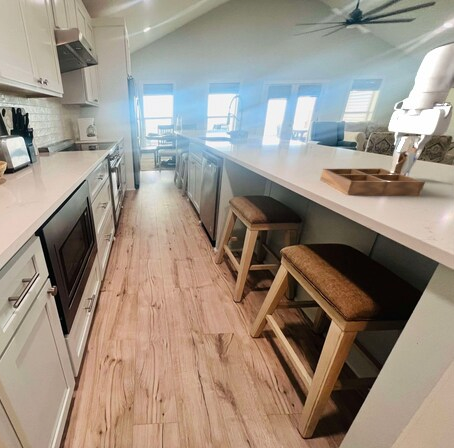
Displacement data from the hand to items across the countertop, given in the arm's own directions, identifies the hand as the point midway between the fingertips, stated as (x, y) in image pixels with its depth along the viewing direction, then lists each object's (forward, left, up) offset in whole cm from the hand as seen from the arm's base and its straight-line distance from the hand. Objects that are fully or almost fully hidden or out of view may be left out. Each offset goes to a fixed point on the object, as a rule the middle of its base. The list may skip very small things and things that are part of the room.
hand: (407, 147), depth 84 cm
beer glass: (0, 0, -12) cm, 12 cm away
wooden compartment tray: (+16, +10, -12) cm, 22 cm away
